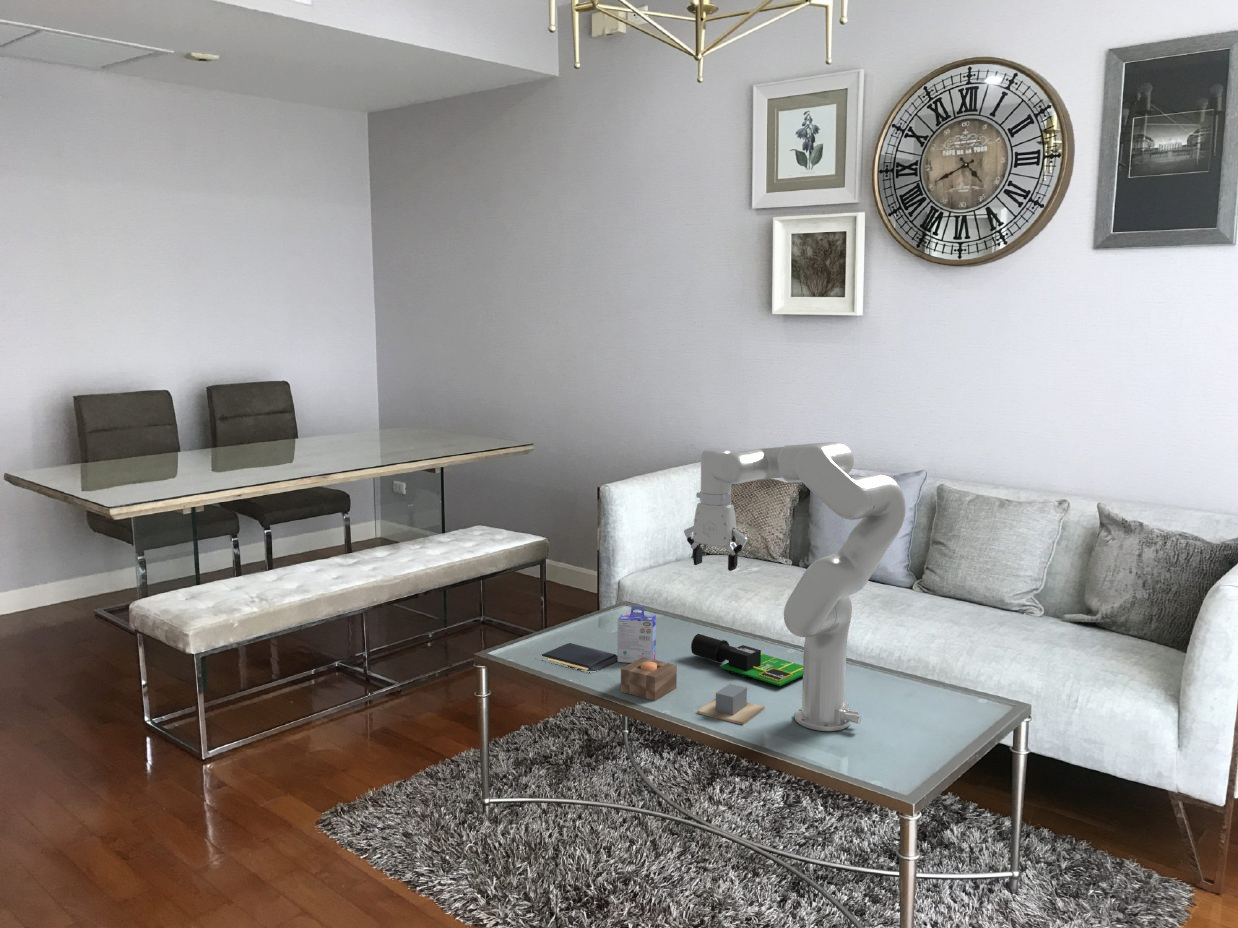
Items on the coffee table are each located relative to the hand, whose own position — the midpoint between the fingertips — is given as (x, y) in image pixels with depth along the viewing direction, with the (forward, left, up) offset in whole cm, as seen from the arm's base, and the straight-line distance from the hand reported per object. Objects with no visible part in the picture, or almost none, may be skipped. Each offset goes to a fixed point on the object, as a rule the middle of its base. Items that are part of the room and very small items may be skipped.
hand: (714, 566), depth 243 cm
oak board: (-12, +13, -30) cm, 35 cm away
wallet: (+39, +5, -31) cm, 50 cm away
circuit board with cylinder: (-3, -15, -31) cm, 34 cm away
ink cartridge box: (+25, -3, -31) cm, 40 cm away
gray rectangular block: (-12, +13, -30) cm, 35 cm away
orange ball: (+11, +13, -28) cm, 33 cm away
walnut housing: (+11, +13, -30) cm, 35 cm away
